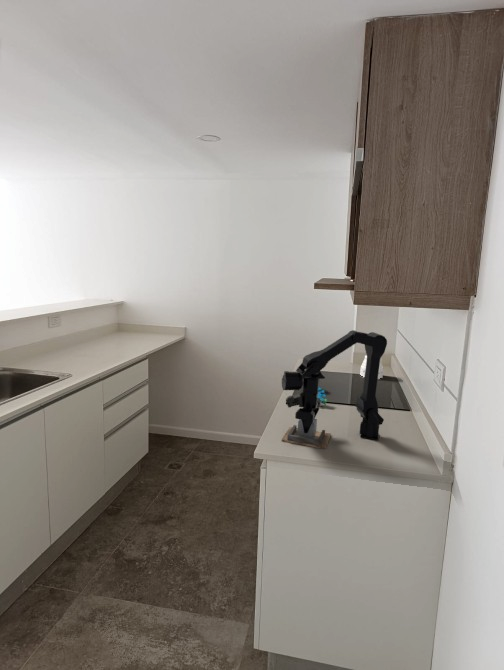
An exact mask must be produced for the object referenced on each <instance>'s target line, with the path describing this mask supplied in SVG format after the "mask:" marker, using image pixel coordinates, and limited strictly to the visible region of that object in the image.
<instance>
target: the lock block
mask: <svg viewBox="0 0 504 670" xmlns="http://www.w3.org/2000/svg"><path fill="white" fill-rule="evenodd" d="M297 423H298V424H297V428H298V435H297V436H303V437H309V438H314V437H315V434H316V431H317V426H318V425H317V424H318V419H317V418H315V419H314V420H313V422H312V425H311V427H310V429H309V431H308V433H304V429H303V424H302V420H301V419H298V421H297Z"/></svg>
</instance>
